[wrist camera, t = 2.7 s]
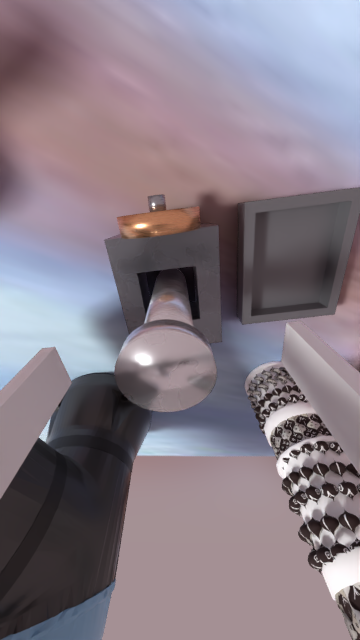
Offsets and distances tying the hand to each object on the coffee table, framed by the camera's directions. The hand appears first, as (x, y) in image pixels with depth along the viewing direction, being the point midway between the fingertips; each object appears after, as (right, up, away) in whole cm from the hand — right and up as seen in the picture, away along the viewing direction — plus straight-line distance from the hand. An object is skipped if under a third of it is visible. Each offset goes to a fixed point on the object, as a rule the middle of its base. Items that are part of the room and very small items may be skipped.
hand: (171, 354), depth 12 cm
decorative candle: (+15, -8, +21) cm, 27 cm away
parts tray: (+13, +9, +12) cm, 20 cm away
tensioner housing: (-1, +8, +12) cm, 15 cm away
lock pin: (-1, +7, +13) cm, 15 cm away
